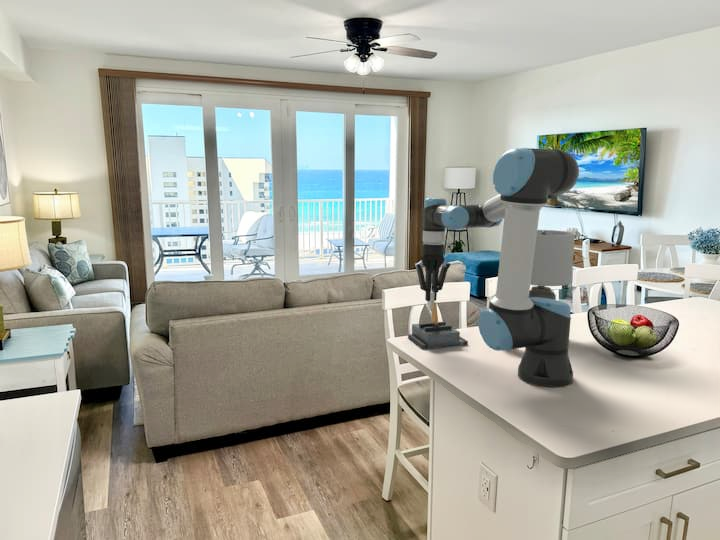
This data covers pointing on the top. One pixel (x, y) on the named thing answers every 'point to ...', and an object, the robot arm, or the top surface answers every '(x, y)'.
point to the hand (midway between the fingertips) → (430, 309)
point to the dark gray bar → (417, 341)
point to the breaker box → (436, 335)
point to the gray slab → (463, 342)
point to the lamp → (552, 262)
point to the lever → (434, 316)
